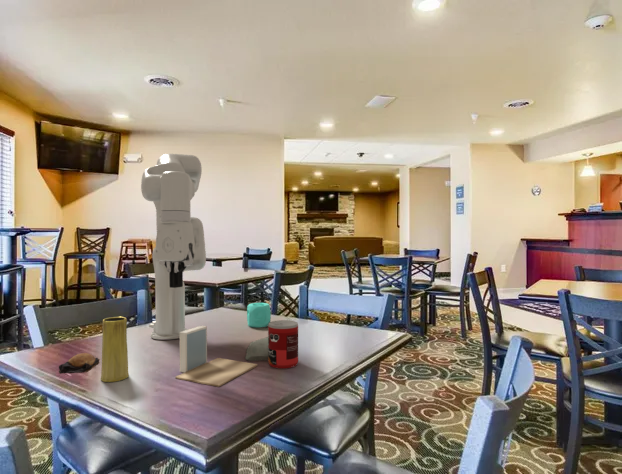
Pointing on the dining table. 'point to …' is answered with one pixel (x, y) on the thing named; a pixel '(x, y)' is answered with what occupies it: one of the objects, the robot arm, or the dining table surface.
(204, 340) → the tile
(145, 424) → the dining table surface
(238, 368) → the mat
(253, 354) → the stone slab
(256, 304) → the decorative dice
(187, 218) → the robot arm
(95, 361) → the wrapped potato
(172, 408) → the dining table surface
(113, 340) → the vase
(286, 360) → the canned food
